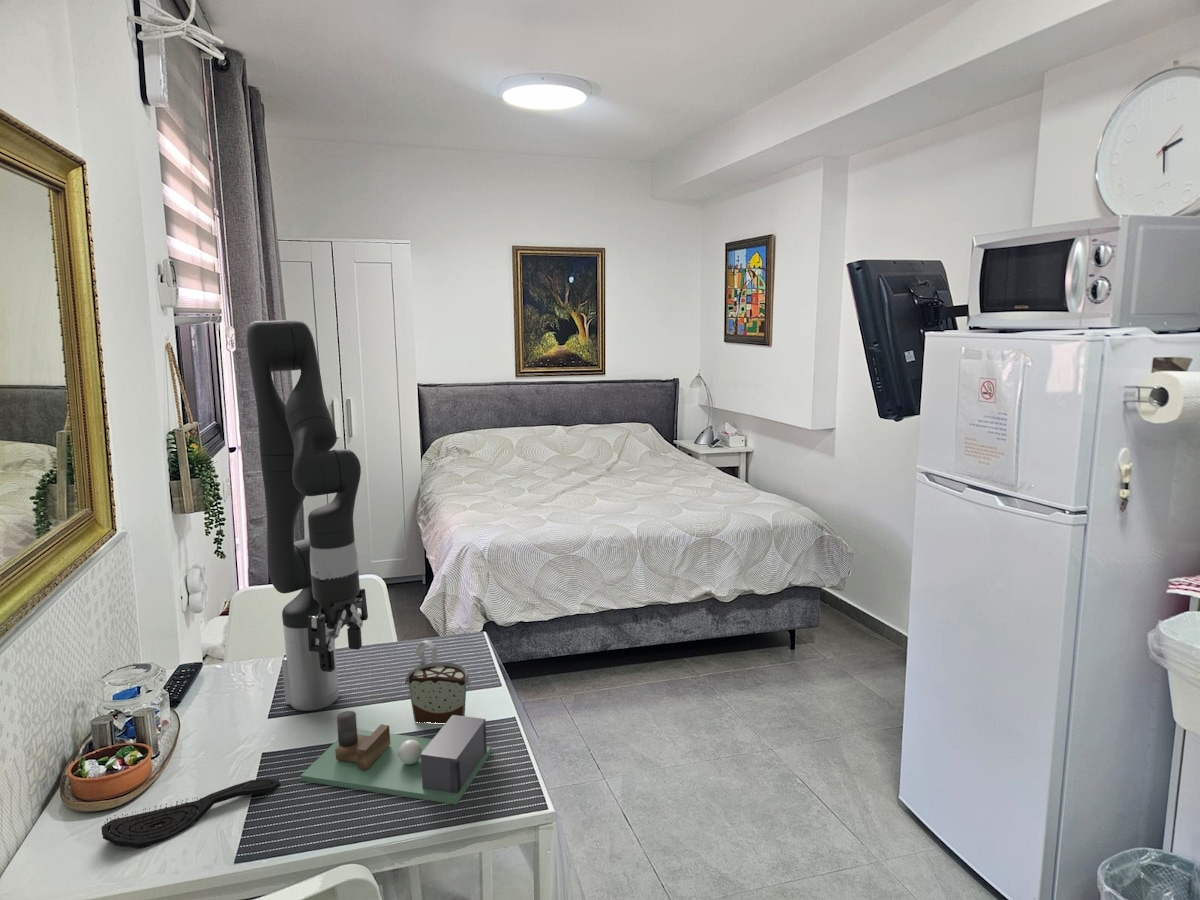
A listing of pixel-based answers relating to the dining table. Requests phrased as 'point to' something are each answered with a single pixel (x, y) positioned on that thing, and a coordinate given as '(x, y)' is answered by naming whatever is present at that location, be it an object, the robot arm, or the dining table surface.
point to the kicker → (359, 741)
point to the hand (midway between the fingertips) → (342, 659)
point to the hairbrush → (174, 816)
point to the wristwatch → (421, 649)
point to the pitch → (383, 772)
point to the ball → (410, 751)
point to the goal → (453, 754)
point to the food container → (437, 691)
